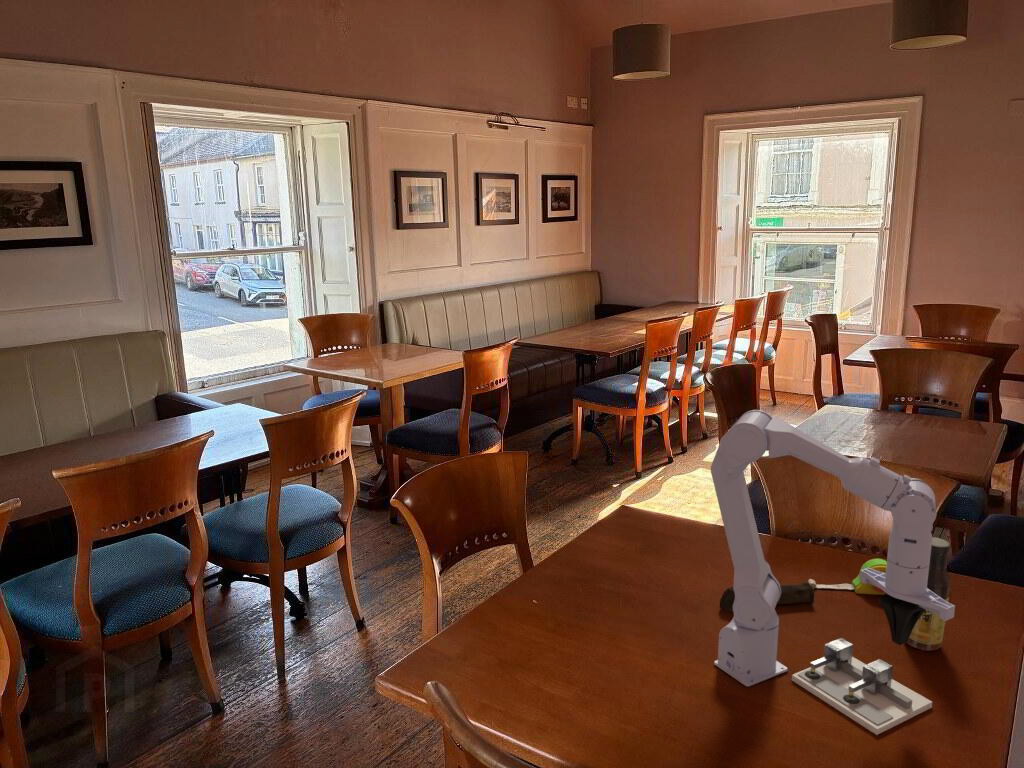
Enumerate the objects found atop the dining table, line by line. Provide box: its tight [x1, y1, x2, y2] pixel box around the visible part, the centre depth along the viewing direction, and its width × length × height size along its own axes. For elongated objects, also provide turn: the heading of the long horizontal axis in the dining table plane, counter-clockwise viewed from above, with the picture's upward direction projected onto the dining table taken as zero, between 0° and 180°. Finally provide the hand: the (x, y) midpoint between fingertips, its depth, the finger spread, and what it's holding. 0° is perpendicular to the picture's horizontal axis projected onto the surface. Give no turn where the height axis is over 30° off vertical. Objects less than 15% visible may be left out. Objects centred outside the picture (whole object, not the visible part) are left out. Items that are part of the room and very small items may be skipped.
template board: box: [791, 656, 933, 736], centre depth 125 cm, size 13×16×2 cm
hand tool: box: [719, 581, 815, 612], centre depth 154 cm, size 19×4×5 cm, turn 97°
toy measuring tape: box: [807, 558, 887, 596], centre depth 159 cm, size 6×19×7 cm, turn 80°
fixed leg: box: [809, 637, 854, 674], centre depth 130 cm, size 8×2×4 cm, turn 119°
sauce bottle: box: [905, 536, 952, 652], centre depth 137 cm, size 7×6×20 cm
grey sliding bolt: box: [848, 658, 893, 698], centre depth 123 cm, size 8×2×4 cm, turn 119°
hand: (900, 641), depth 121 cm, fingers closed
